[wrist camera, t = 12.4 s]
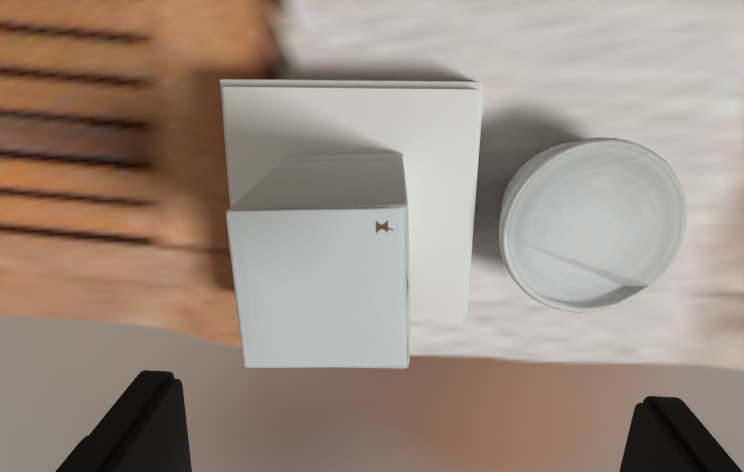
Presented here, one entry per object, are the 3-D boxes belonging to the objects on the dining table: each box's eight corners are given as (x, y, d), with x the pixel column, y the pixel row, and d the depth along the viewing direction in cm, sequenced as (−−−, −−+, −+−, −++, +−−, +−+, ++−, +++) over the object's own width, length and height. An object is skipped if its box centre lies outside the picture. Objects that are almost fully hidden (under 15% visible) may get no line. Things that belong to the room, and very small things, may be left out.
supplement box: (285, 152, 32) (220, 203, 20) (405, 151, 31) (414, 202, 19) (292, 264, 34) (238, 371, 22) (404, 264, 34) (412, 372, 22)
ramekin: (498, 294, 38) (515, 328, 33) (474, 149, 35) (488, 163, 30) (651, 265, 37) (692, 296, 32) (641, 112, 34) (684, 120, 29)
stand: (235, 78, 34) (215, 79, 30) (475, 81, 34) (486, 82, 30) (250, 297, 39) (235, 321, 35) (460, 302, 39) (468, 327, 35)
